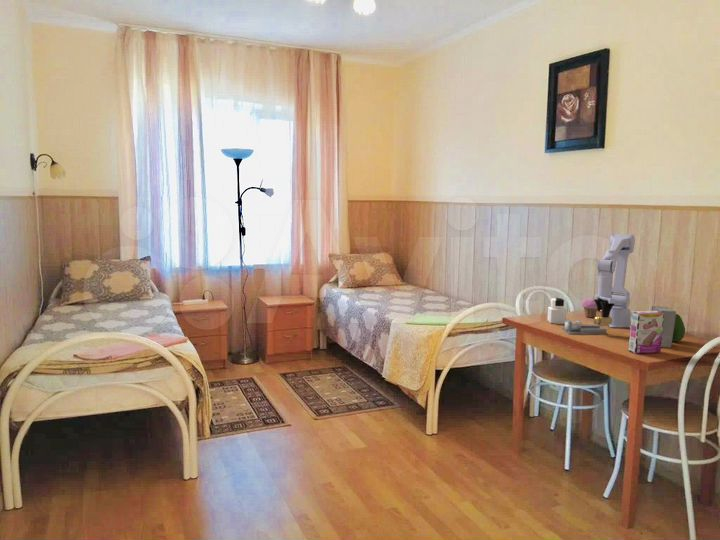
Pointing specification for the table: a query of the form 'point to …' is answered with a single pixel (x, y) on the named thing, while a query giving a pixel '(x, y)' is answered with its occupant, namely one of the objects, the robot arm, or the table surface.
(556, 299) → the medicine bottle
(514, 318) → the table surface
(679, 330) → the avocado
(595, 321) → the valve
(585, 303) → the cupcake
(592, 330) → the grey piece
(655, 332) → the candy bar box
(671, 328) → the skincare box
